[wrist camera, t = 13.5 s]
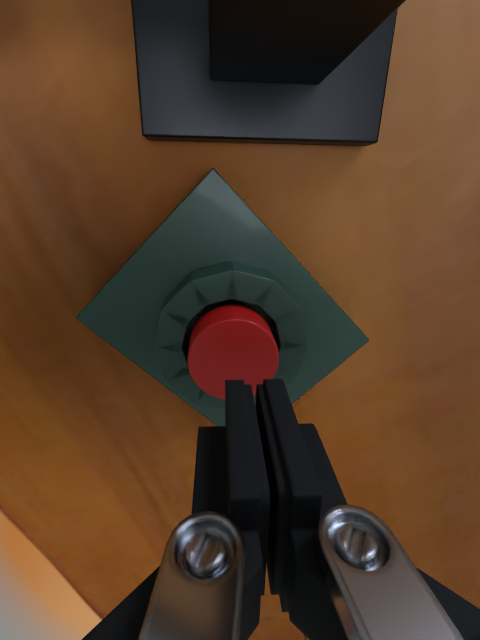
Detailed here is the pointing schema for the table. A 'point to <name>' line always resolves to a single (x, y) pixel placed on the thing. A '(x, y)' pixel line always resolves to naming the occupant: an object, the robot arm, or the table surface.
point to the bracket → (263, 69)
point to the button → (231, 349)
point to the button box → (218, 297)
